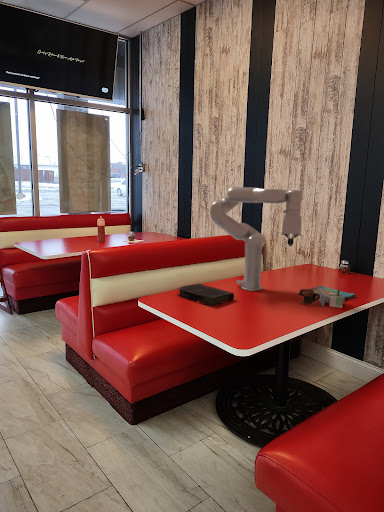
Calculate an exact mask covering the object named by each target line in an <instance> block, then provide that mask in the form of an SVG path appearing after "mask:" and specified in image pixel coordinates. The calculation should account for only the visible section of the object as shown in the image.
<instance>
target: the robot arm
mask: <svg viewBox="0 0 384 512" xmlns="http://www.w3.org/2000/svg"><path fill="white" fill-rule="evenodd" d="M239 203H251V204H254V203H255V204H261V203H262V204H263V203H264V204H282V203H286V205H285V210H284V209H283V210H282V212H283V214H284V215H283V219H282V226H281V234H280V235H281V236H285V237H286V239H287V245H288V247H292V246H293V245H294V240H295V238H297V237H300V236H302V223H303V221H302V216H301V206H302V205H301V203H302V191H301V190H297V189H281V188H280V189H279V188H276V189H275V188H270V189H269V188H258V187H246V186H245V187H241V186H240V187H239V186H233V187H230V188H229V189H228V190H227V192H226V195H225V196H224V197H223V198H222V199H219V200H215V201H214V202H212V204H211V205H210V208H209V216H210V218H211V220H212V221H213V223H215V225H216V226H218V227H219V228H220V229H221V230H223V231H224V232H225V233H226V234H228V235H229V236H231V237H232V238H233V239H234V240H237V241H243V242H245V243H244V269H243V271H244V272H243V273H244V274H243V279H242V280H240V279H238V280H236V281H235V283H236V284H237V285H240V288H241V289H242V290H245V291H250V292H251V291H252V292H256V291H257V292H258V291H262V290H263V286H262V285H261V276H262V275H261V273H262V257H263V256H262V255H263V254H262V252H263V248H264V246H265V245H266V238H265V236H264V235H263V234H262V233H260V232H259V231H257V230H256V229H255V228H254V227H252V226H250V225H249V224H248V223H245V222H238V221H237V220H235V219H234V217H232V216H230V215H227V213H229V212H231V211H232V210H233V209H234V208H235V207H236V206H237V205H238V204H239ZM290 234H291V237H290Z"/></svg>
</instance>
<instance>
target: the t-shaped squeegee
mask: <svg viewBox="0 0 384 512" xmlns="http://www.w3.org/2000/svg"><path fill="white" fill-rule="evenodd" d="M337 290H338V291H337V296H339V292H340V291H341V290H340V288H337ZM319 295H320V299H319V300H318V301H319V303H320V306H321V307H325V303H328V302H329V301H330V296H331V295H325V294H324V292H323V290H322V288H320V289H319ZM342 297H343V296H342ZM344 299H345V298H344V297H343V303H342V305H344V303H345V300H344Z"/></svg>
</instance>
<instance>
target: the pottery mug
mask: <svg viewBox="0 0 384 512" xmlns="http://www.w3.org/2000/svg"><path fill="white" fill-rule="evenodd" d="M297 296H300V297H303V299H300V304H301V305H304V304H305V305H311V306H312V304H315V303H316V302H318V301H319V299H320V295H319V294H318V293H314V291H313V290H311V289H310V288H302V289H299V292H298V294H297Z"/></svg>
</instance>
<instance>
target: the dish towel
mask: <svg viewBox="0 0 384 512" xmlns="http://www.w3.org/2000/svg"><path fill="white" fill-rule="evenodd" d="M320 288H322V290H323V292H324V294H325V295H328V293H337V291H338V289H334V288H332V287H328V286H324V285H318V286H315V287H310V288H309V289H311V290H313V291H314V293H318V294H319V289H320ZM339 293H340V294H341V296H343V297H344V298H345V299H344V301H347V300H351V299H355V298H357V295H356V293H350V292H346V291H342V290H340V292H339Z"/></svg>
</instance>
